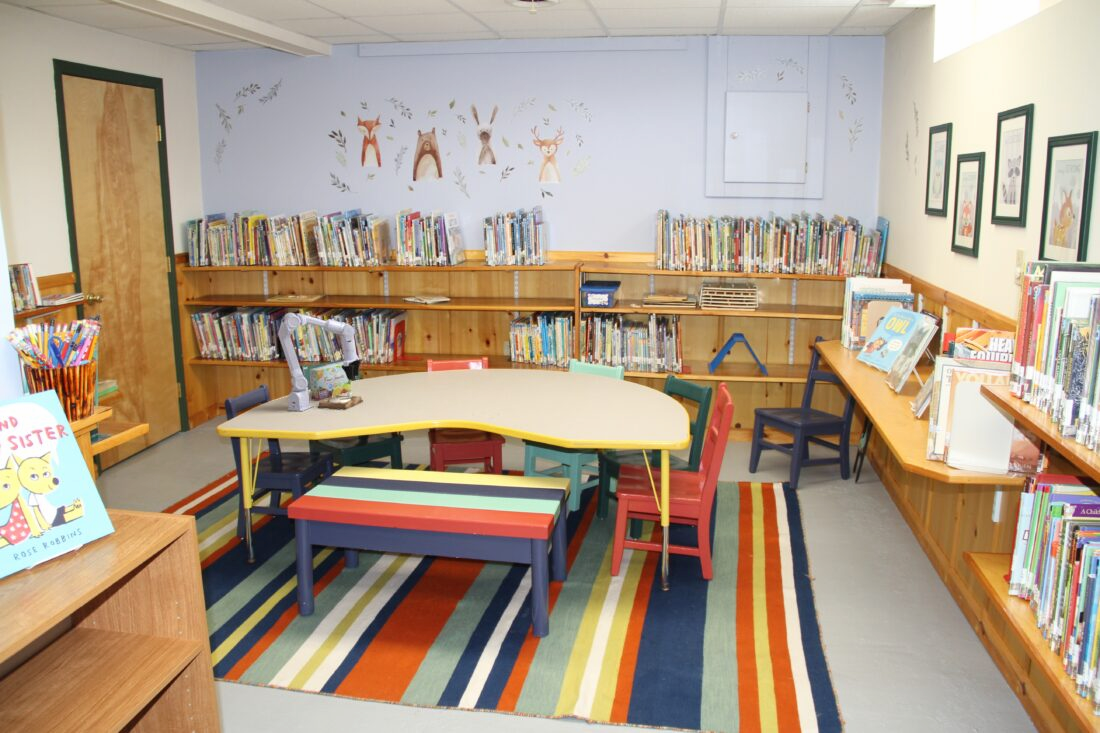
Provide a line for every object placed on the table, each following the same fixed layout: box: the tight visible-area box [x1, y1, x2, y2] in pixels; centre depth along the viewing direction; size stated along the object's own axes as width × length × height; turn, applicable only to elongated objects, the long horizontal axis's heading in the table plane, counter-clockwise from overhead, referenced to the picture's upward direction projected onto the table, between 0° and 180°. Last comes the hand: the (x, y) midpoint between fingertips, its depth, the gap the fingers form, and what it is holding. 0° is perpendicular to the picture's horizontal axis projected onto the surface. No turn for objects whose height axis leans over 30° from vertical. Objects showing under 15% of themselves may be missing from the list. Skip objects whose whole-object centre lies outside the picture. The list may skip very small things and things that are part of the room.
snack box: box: [308, 361, 352, 401], centre depth 425 cm, size 21×6×15 cm, turn 146°
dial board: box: [316, 395, 364, 411], centre depth 406 cm, size 15×15×3 cm
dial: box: [329, 391, 353, 403], centre depth 406 cm, size 10×10×4 cm
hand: (353, 377), depth 411 cm, fingers open, 7 cm apart
